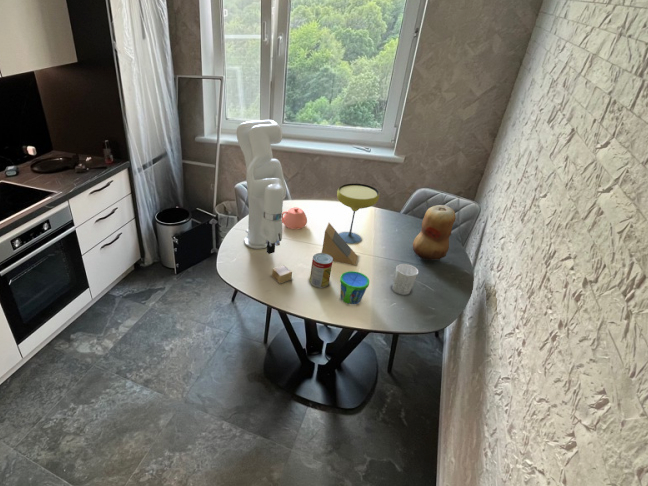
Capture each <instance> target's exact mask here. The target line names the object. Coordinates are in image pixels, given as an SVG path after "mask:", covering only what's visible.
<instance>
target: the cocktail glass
mask: <svg viewBox="0 0 648 486" xmlns="http://www.w3.org/2000/svg"><path fill="white" fill-rule="evenodd" d="M336 199H337V200H338V201H339V203H341V204H342V205H344V206H345V207H348V208H350V209H351V210H352V212H353V213H352V219H351V223H350V228H349V231H344V232H340V233H338V234H339V235H340V236H341V237H342V239H343V240H344V241H345V242H346V243H347V244H348V245H349V244H350V245H355V244H358V243H361V240H362V237H361V235H358V234H357V233H355V232H352V231H353V225H354V219H355V214H356V212H357V211H359V210H360V209H361V210H362V209H367V208H371V207H372V206H374V205H376V204H377V203H378V202H379V199H380V191H379V190H378V189H377V188H376V187H374V186H371V185H368V184H365V183H346V184H343V185H340V186H339V187H338V189H337V191H336Z"/></svg>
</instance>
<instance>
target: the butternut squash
mask: <svg viewBox="0 0 648 486" xmlns="http://www.w3.org/2000/svg"><path fill="white" fill-rule="evenodd" d="M456 219H457V216H456V212H455V210H454V209H453V208H452V207H449V206H448V205H444V204H438V205H437V204H436V205H433V206H431V207H428V209H427V210H426V212H425V213H424V216H423V219H422V221H421V229H420V232H419V233H418V234H417V235H416V237H415V238H414V239H413V241H412V249H413V253H414V254H415V255H416V256H417V257H419V258H421V259H422V260H425V261H438V260H442V259H443V258H445V257H446V256H447V253H448V252H449V249H450V236H451V235H452V230H453V226H454V223H455V222H456Z"/></svg>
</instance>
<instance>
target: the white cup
mask: <svg viewBox="0 0 648 486" xmlns="http://www.w3.org/2000/svg"><path fill="white" fill-rule="evenodd" d="M418 275H419V269H418V268H417V267H415V266H414V265H412V264H408V263H400V264H397V265H396V267H395V271H394V275H393V279H392V280H393V281H392V286H391V288H392V291H393V292H394V293H397V294H398V295H403V296H406V295H409V294H411V291H412V289H413V286H414V285H415V282H416V279H417V277H418Z"/></svg>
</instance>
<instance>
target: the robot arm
mask: <svg viewBox="0 0 648 486" xmlns="http://www.w3.org/2000/svg"><path fill="white" fill-rule="evenodd" d="M236 139H237V140H236V141H237V143H238V146H239V148H240V150H241V152H242V154H243V157H244V164H245V169H246V172H245V173H246V174H245V181H246V186H247V188H246V192H247V201H248V221H247V222H248V223H247V229H246V230H245V233H246V234H247V236H246V237H245V238H244V244H245V245H246V247H248V248H250V249H256V250H260V249H264V248H266V253H267V254H268V255H270V254H271V255H272V254H274V253H275V252H276V247H278V246H280V244H281V243H280V242H281V241H282V240H283V223H282V220H281V219H282V213H283V207H284V200H285V198H286V196H287V187H286V182H285V177H284V171H283V166H282V163H281V162H280V160H279V159H277V158H274V155H273V149H272V145H278V144H280V143H281V142H282V140H283V131H282V128H281V125H280V124H279V123H277V121H275V120H273V119H263V120H250V121H245V122H241V123H240V124H238V125H237V127H236Z"/></svg>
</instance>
